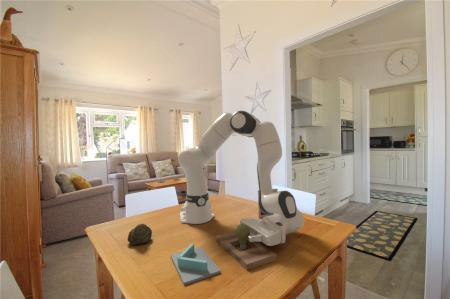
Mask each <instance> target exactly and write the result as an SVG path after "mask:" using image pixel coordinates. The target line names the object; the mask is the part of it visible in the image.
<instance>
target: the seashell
mask: <svg viewBox="0 0 450 299" xmlns="http://www.w3.org/2000/svg"><path fill="white" fill-rule="evenodd" d="M152 236H153V230H152V229H151V227H150V226H147V224H144V223H139V224H137V225H136V226H135V227H134V228H132V229H131V230H130V231H129V232H128V236H127V242H128V243H129V244H130V245H142V244H147V243H149V242H150V241H151V238H152Z"/></svg>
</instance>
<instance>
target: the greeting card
mask: <svg viewBox="0 0 450 299" xmlns="http://www.w3.org/2000/svg"><path fill="white" fill-rule="evenodd" d="M278 189H279V188H272V191H273V192H278V191H279V190H278ZM257 197H258V198H257V202H258V219H261V218H262V219H263V217H266V216H270V215H274V214H265V213H264V212H263V211H262V210H261V209H260V207H259V189H258V191H257Z"/></svg>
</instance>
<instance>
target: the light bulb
mask: <svg viewBox="0 0 450 299" xmlns="http://www.w3.org/2000/svg"><path fill="white" fill-rule="evenodd" d="M235 228H236V235H237V237H238V239H239V242H240V245H239V247H240V249H241V251H244V250H247V249H248V248H247V247H248V246H247V245H248V243H247V240H248V236H250V235H251V234H250V228H249V227H248V226H247V225H246V224H240V223H239V224H238V225H237V226H236V227H235Z"/></svg>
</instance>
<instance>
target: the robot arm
mask: <svg viewBox="0 0 450 299" xmlns="http://www.w3.org/2000/svg"><path fill="white" fill-rule="evenodd" d="M235 133H236V134H238V135H240V136H243V137H248V138H253V139H254V142H255V146H256V151H257V152H256V153H257V163H256V172H257V183H258V190H259V207H260V209H261V210H262V211H263V212H264V213H265V214H274V215H270V216H266V217H263V218H262V219H261V220H260V218H256V217H247V218H246V217H245V218H242V219H240V221H239V224H246V225H247V226H248V227H249V228H250V235H249V236H248V241H250V242H253V241H256V242H259V243H260V242H261V243H263V244H264V245H265V246H269V247H272V246H276V245H279V244H284V243H286V236H287V235H289V234H292V233H295V232H298V231H299V230H301V229H302V228H303V226H304V224H305V218H304V215H303V213H302V211H300V210H299V209H298V206H297V204H296V198H295V197H294V195H293V194H292V193H291V192H290V191H288V190H278V192H273V191H272V189H273V187H272V186H273V185H272V179H271V178H272V176H271V175H272V174H271V172H272V170H273V169H274V167H275V166H276V165H277V164H278V163H279V162H280V160H281V159H282V157H283V147H282V144H281V140H280V139H281V138H280V136H279V133H278V131H277V129H276V127H275V124H274V123H272V122H270V121H262V122H261V121H260V120H259V118H257V117H256V116H255V115H254V114H252V113H249V112H248V111H245V110H237V111H235V112H233V113H231V112H224V113H223V114H221V115H220V116H219V117H217V118H216V119H215V120H214V122H213V123H212V124H211V125H209V127H208V128H207V129H206V131H205V132H204V133H203V134H202V135H201V139H200V140H199V142H198V144H197V145H196V146H194V147H190V148H189V147H188V148H186V149H184V150H182V151H181V152H180V153H179V154H178V157H177V161H178V162H177V163H178V165H179V166H180V168H182V171H183V172H184V177H185V181H186V182H185V183H186V196H185V202H184V203H183V206H181V207H180V212H179V218H180V222H181V224H191V225H198V224H199V225H201V224H204V223H205V224H206V223H208V222H210V221H211V220H212V219H213V218H215V214H214V213H213V208H212V202H211V201H210V200H209V199H210V194H209V192H208V178H207V177H206V175H205V172H204V168H203V167H205V166H207V165H208V164H209V163H210V162H211V160H212V158H214V156H215V154H216V153H217V151H218V150H219V149H220V147H222V146H223V144H225V143H226V141H227V140H228V139H229V138H230V137H231V135H233V134H235ZM259 207H258V208H259ZM235 231H236V227H235V230H234V232H235Z"/></svg>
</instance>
